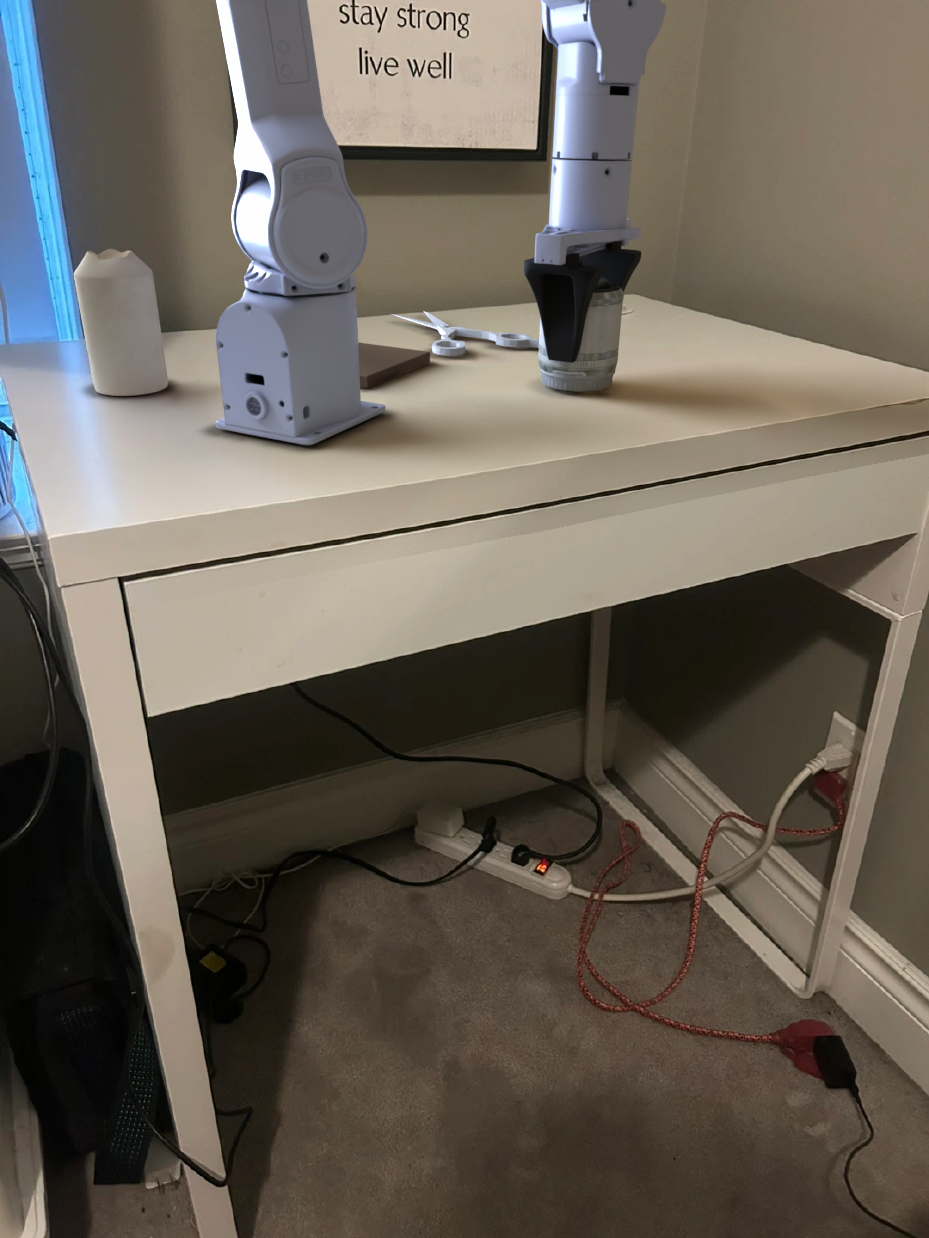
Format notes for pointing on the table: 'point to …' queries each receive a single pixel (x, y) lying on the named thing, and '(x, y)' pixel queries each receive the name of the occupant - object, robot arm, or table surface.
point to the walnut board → (387, 363)
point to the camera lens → (589, 345)
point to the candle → (121, 323)
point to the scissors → (458, 347)
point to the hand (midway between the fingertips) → (578, 352)
